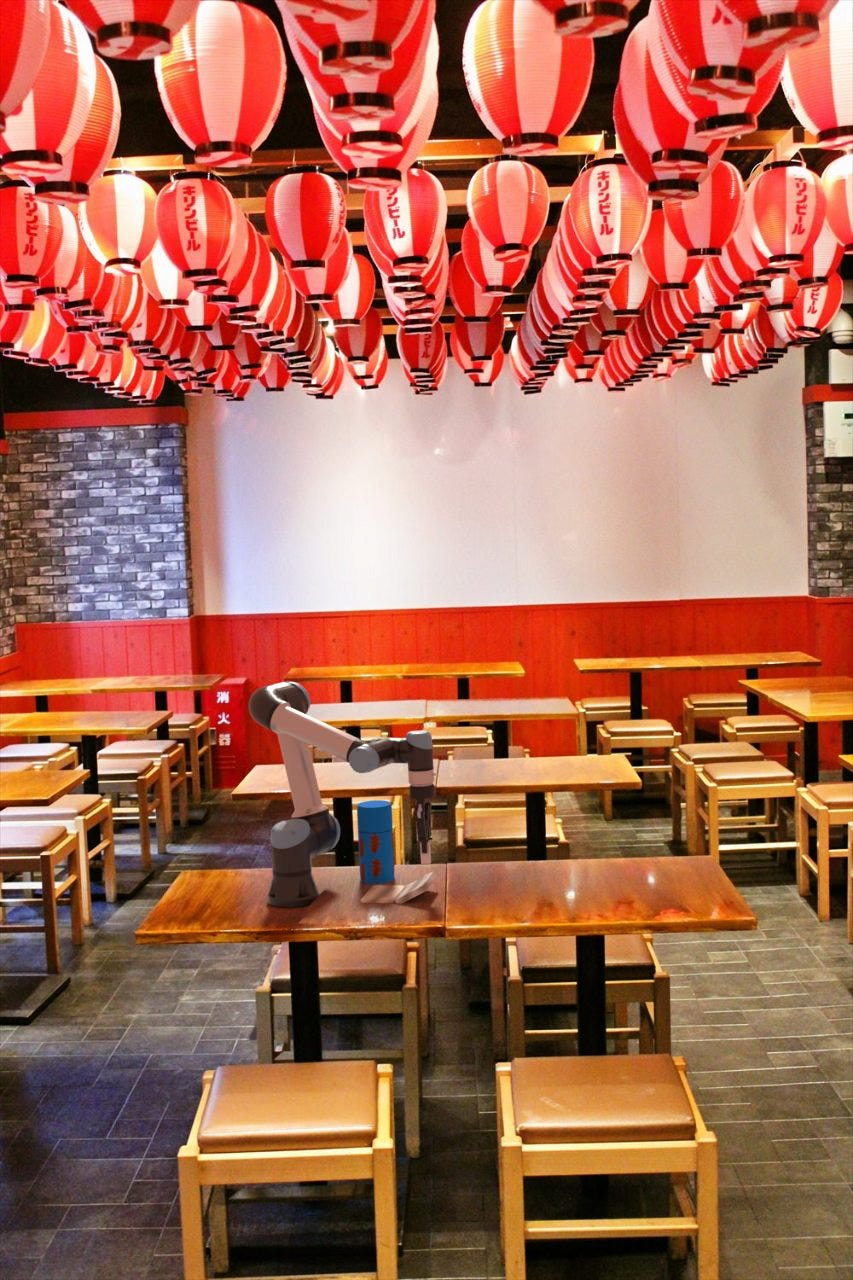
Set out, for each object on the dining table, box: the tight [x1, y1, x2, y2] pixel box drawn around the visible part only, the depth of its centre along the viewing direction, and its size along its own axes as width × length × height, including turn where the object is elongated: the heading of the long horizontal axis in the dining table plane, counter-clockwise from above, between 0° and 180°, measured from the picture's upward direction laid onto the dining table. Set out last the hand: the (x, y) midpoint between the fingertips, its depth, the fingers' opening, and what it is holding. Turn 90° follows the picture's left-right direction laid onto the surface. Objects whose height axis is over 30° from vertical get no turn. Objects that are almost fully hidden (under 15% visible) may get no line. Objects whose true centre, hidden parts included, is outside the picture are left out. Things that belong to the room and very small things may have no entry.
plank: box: [395, 870, 437, 904], centre depth 351 cm, size 10×15×2 cm, turn 168°
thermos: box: [356, 799, 395, 885], centre depth 371 cm, size 11×11×25 cm
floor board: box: [360, 884, 406, 904], centre depth 353 cm, size 21×16×2 cm
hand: (426, 863), depth 350 cm, fingers closed
